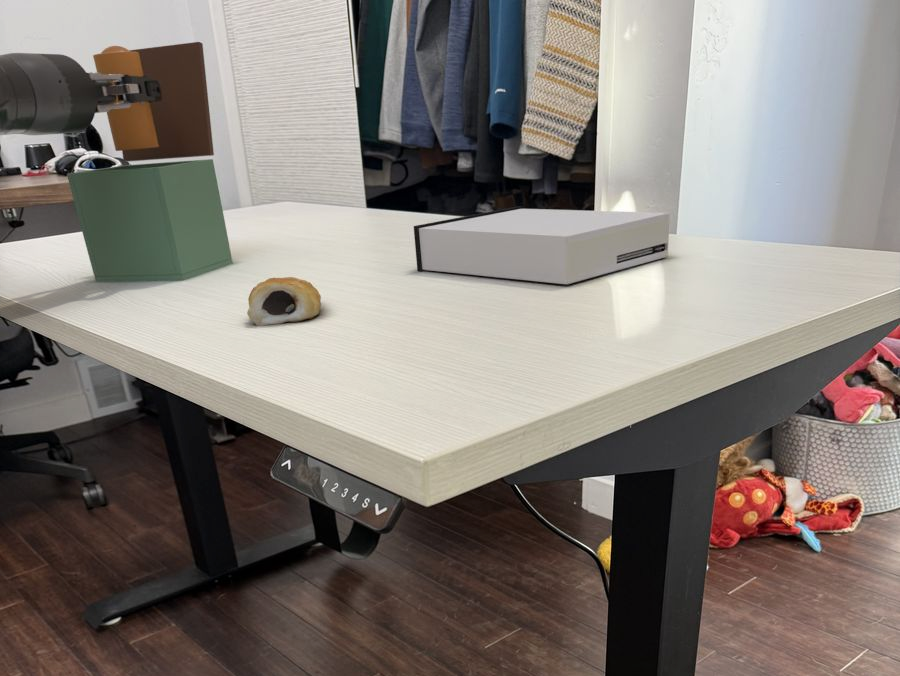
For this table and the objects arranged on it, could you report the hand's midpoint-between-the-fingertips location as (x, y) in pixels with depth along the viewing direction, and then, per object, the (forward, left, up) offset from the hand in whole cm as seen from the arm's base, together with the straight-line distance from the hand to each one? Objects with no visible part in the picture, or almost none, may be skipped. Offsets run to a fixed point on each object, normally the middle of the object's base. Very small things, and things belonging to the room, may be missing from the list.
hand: (138, 93), depth 106 cm
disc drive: (+51, -2, -21) cm, 55 cm away
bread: (0, -3, -6) cm, 7 cm away
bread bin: (0, -2, -21) cm, 21 cm away
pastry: (+32, -27, -21) cm, 47 cm away
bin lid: (0, +4, -1) cm, 4 cm away
